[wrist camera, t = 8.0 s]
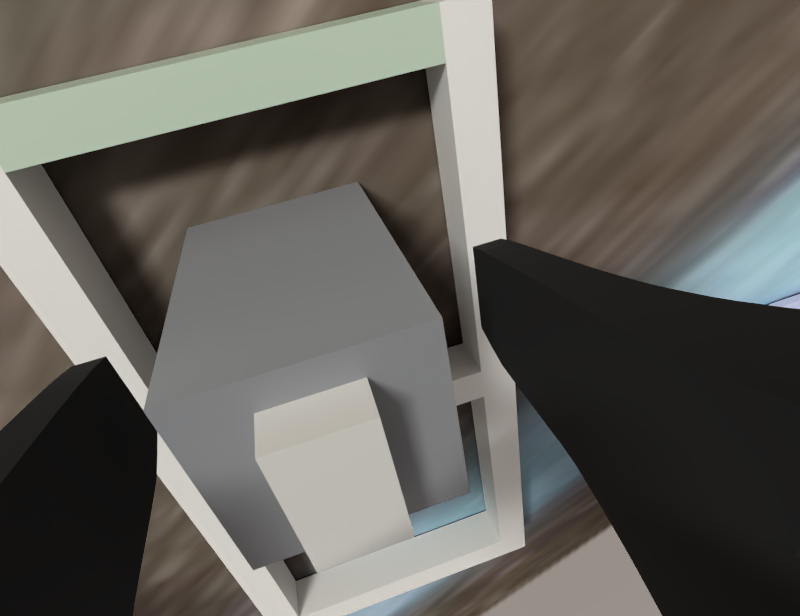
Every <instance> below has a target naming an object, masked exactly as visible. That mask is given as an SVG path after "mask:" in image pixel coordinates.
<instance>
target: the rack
mask: <svg viewBox="0 0 800 616" xmlns="http://www.w3.org/2000/svg"><path fill="white" fill-rule="evenodd" d="M425 68H426V76H427V83H428V90H429V98H430V105H431V112H432V120H433V127H434V134H435V142H436V149H437V156H438V164H439V171H440V178H441V186H442V193H443V200H444V208H445V215H446V222H447V230H448V237H449V244H450V252H451V259H452V266H453V274H454V281H455V288H456V296H457V303H458V310H459V318H460V325H461V332H462V340H463V343H462V344H459V345H456V346H452V347H449V348H447V350H448V356H449V363H450V369H451V375H452V382H453V388H454V394H455V400H456V406H457V405H460V404H463V403H466V402H469V401H471V406H472V413H473V420H474V428H475V435H476V442H477V450H478V457H479V464H480V472H481V479H482V486H483V494H484V501H485V508H486V511H484V512H481V513H478V514H476V515H473V516H470V517H468V518H465V519H462V520H459V521H457V522H454V523H451V524H449V525H446V526H443V527H441V528H438V529H435V530H432V531H430V532H427V533H424V534H422V535H419V536H416V537H414V538H411V539H408V540H406V541H403V542H400V543H397V544H395V545H392V546H389V547H387V548H384V549H381V550H378V551H376V552H373V553H370V554H368V555H365V556H362V557H360V558H357V559H354V560H351V561H349V562H346V563H343V564H341V565H338V566H335V567H332V568H330V569H327V570H324V571H322V572H319V573H316V574H314V575H311V576H308V577H305V578H303V579H300V580H297V581H296V580H295V579H294V577H293V576H292V574H291V572H290V571H289V569H288V567H287V566H286V564H285V562H284V561H283V560H281V561H278V562H275V563H273V564H270V565H267V566H264V567H262V568H259V569H256V570H253V569H252V568H251V566H250V565H249V564H248V562H247V561H246V559H245V558H244V556H243V555H242V553H241V552H240V551H239V549H238V548H237V546H236V545H235V543H234V542H233V540H232V539H231V537H230V536H229V535H228V533H227V532H226V530H225V529H224V527H223V526H222V524H221V523H220V522H219V520H218V519H217V517H216V516H215V514H214V513H213V511H212V510H211V509H210V507H209V506H208V504H207V503H206V501H205V500H204V498H203V497H202V496H201V494H200V493H199V491H198V490H197V488H196V487H195V485H194V484H193V483H192V481H191V480H190V478H189V477H188V475H187V474H186V472H185V471H184V470H183V468H182V467H181V465H180V464H179V462H178V461H177V459H176V458H175V457H174V455H173V454H172V452H171V451H170V449H169V448H168V446H167V445H166V443H165V442H164V441H163V439H162V438H161V436H160V435H159V433H158V432H157V475H158V476H159V478H160V479H161V480H162V482H163V483H164V484H165V486H166V487H167V488H168V490H169V491H170V492H171V494H172V495H173V496H174V498H175V499H176V500H177V502H178V503H179V504H180V506H181V507H182V508H183V510H184V511H185V512H186V514H187V515H188V516H189V518H190V519H191V520H192V522H193V523H194V524H195V526H196V527H197V528H198V530H199V531H200V532H201V534H202V535H203V536H204V538H205V539H206V540H207V542H208V543H209V544H210V546H211V547H212V548H213V550H214V551H215V552H216V554H217V555H218V556H219V558H220V559H221V560H222V562H223V563H224V564H225V566H226V567H227V568H228V570H229V571H230V572H231V574H232V575H233V576H234V578H235V579H236V580H237V582H238V583H239V584H240V586H241V587H242V588H243V590H244V591H245V592H246V594H247V595H248V596H249V598H250V599H251V600H252V602H253V603H254V604H255V606H256V607H257V608H258V610H259V611H260V612H261V614H262V615H263V616H344V615H347V614H350V613H352V612H355V611H358V610H360V609H363V608H365V607H368V606H371V605H373V604H376V603H378V602H381V601H384V600H386V599H389V598H391V597H394V596H397V595H399V594H402V593H404V592H407V591H410V590H412V589H415V588H417V587H420V586H423V585H425V584H428V583H430V582H433V581H436V580H438V579H441V578H444V577H446V576H449V575H451V574H454V573H457V572H459V571H462V570H464V569H467V568H470V567H472V566H475V565H477V564H480V563H483V562H485V561H488V560H490V559H493V558H496V557H498V556H501V555H503V554H506V553H509V552H511V551H514V550H516V549H519V548H522V547H524V546H525V537H524V521H523V504H522V488H521V471H520V455H519V438H518V422H517V405H516V389H515V382H514V380H513V379H512V378H511V376H510V375H509V374H508V372H507V371H506V370H505V368H504V367H503V365H502V364H501V362H500V360H499V359H498V357H497V355H496V353H495V352H494V350H493V348H492V346H491V345H490V343H489V341H488V339H487V337H486V335H485V333H484V331H483V330H482V328H481V320H480V310H479V301H478V292H477V282H476V273H475V264H474V254H473V247H474V246H477V245H481V244H484V243H488V242H491V241H494V240H498V239H505V240H506V224H505V208H504V192H503V175H502V159H501V142H500V126H499V109H498V93H497V76H496V60H495V43H494V27H493V11H492V0H421V1H417V2H413V3H408V4H404V5H400V6H395V7H391V8H387V9H382V10H378V11H374V12H369V13H365V14H361V15H356V16H352V17H348V18H343V19H339V20H335V21H330V22H326V23H322V24H317V25H313V26H309V27H304V28H300V29H296V30H291V31H287V32H283V33H278V34H274V35H270V36H265V37H261V38H257V39H252V40H248V41H244V42H239V43H235V44H231V45H226V46H222V47H218V48H213V49H209V50H205V51H200V52H196V53H192V54H187V55H183V56H179V57H174V58H170V59H166V60H161V61H157V62H153V63H148V64H144V65H140V66H135V67H131V68H127V69H122V70H118V71H114V72H109V73H105V74H101V75H96V76H92V77H88V78H83V79H79V80H75V81H70V82H66V83H62V84H57V85H53V86H49V87H44V88H40V89H36V90H31V91H27V92H23V93H18V94H14V95H10V96H5V97H1V98H0V266H1V267H2V268H3V270H4V271H5V272H6V274H7V275H8V276H9V278H10V279H11V280H12V282H13V283H14V284H15V286H16V287H17V288H18V290H19V291H20V292H21V294H22V295H23V296H24V298H25V299H26V300H27V302H28V303H29V304H30V306H31V307H32V308H33V310H34V311H35V312H36V314H37V315H38V316H39V318H40V319H41V320H42V322H43V323H44V324H45V326H46V327H47V328H48V330H49V331H50V332H51V334H52V335H53V336H54V338H55V339H56V340H57V342H58V343H59V344H60V346H61V347H62V348H63V350H64V351H65V352H66V354H67V355H68V356H69V358H70V359H71V360H72V362H73V363H74V364H75V365H78V364H82V363H85V362H88V361H92V360H95V359H99V358H102V357H105V356H106V357H107V359H108V360H109V362H110V363H111V364H112V366H113V367H114V369H115V370H116V372H117V373H118V375H119V376H120V377H121V379H122V380H123V382H124V383H125V385H126V386H127V388H128V389H129V390H130V392H131V393H132V395H133V396H134V398H135V399H136V401H137V402H138V403H139V405H140V406H141V408H142V409H143V410H144V406H145V402H146V398H147V394H148V389H149V385H150V381H151V377H152V373H153V369H154V365H155V360H156V356H157V353H156V351H155V350H154V348H153V346H152V345H151V343H150V341H149V340H148V338H147V337H146V335H145V333H144V332H143V330H142V328H141V327H140V325H139V323H138V322H137V320H136V319H135V317H134V315H133V314H132V312H131V310H130V309H129V307H128V305H127V304H126V302H125V301H124V299H123V297H122V296H121V294H120V292H119V291H118V289H117V287H116V286H115V284H114V283H113V281H112V279H111V278H110V276H109V274H108V273H107V271H106V269H105V268H104V266H103V265H102V263H101V261H100V260H99V258H98V256H97V255H96V253H95V251H94V250H93V248H92V247H91V245H90V243H89V242H88V240H87V238H86V237H85V235H84V233H83V232H82V230H81V229H80V227H79V225H78V224H77V222H76V220H75V219H74V217H73V215H72V214H71V212H70V211H69V209H68V207H67V206H66V204H65V202H64V201H63V199H62V197H61V196H60V194H59V192H58V191H57V189H56V188H55V186H54V184H53V183H52V181H51V179H50V178H49V176H48V174H47V173H46V171H45V170H44V168H43V166H42V165H41V164H43V163H47V162H51V161H55V160H59V159H63V158H67V157H71V156H75V155H79V154H83V153H87V152H91V151H95V150H99V149H103V148H107V147H111V146H115V145H119V144H123V143H127V142H131V141H135V140H139V139H143V138H147V137H151V136H155V135H159V134H163V133H167V132H171V131H175V130H179V129H183V128H187V127H191V126H196V125H200V124H204V123H208V122H212V121H216V120H220V119H224V118H228V117H232V116H236V115H240V114H244V113H248V112H252V111H256V110H260V109H264V108H268V107H272V106H276V105H280V104H284V103H288V102H292V101H296V100H300V99H304V98H308V97H312V96H316V95H320V94H324V93H328V92H332V91H336V90H340V89H344V88H348V87H352V86H356V85H360V84H364V83H368V82H372V81H376V80H380V79H384V78H388V77H392V76H396V75H400V74H404V73H408V72H413V71H417V70H421V69H425Z"/></svg>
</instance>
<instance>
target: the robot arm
mask: <svg viewBox="0 0 800 616" xmlns="http://www.w3.org/2000/svg"><path fill="white" fill-rule="evenodd" d="M473 254H474V264H475V273H476V282H477V292H478V301H479V310H480V320H481V328H482V330H483V331H484V333H485V335H486V337H487V339H488V341H489V343H490V345H491V346H492V348H493V350H494V352H495V353H496V355H497V357H498V359H499V360H500V362H501V364H502V365H503V367H504V368H505V370H506V371H507V372H508V374H509V375H510V376H511V378H512V379H513V380H514V382H515V383H516V385H517V386H518V387H519V389H520V390H521V391H522V393H523V394H524V395H525V397H526V398H527V399H528V401H529V402H530V403H531V404H532V406H533V407H534V408H535V410H536V411H537V412H538V414H539V415H540V416H541V418H542V419H543V420H544V422H545V423H546V424H547V426H548V427H549V428H550V430H551V431H552V432H553V434H554V435H555V436H556V437H557V439H558V440H559V441H560V443H561V444H562V445H563V447H564V448H565V450H566V451H567V453H568V454H569V456H570V457H571V458H572V460H573V461H574V463H575V464H576V466H577V467H578V469H579V471H580V472H581V474H582V476H583V477H584V479H585V481H586V482H587V484H588V486H589V487H590V489H591V491H592V492H593V494H594V496H595V497H596V499H597V500H598V502H599V504H600V505H601V507H602V509H603V510H604V512H605V514H606V516H607V517H608V519H609V521H610V523H611V524H612V526H613V528H614V529H615V531H616V533H617V535H618V536H619V538H620V540H621V541H622V543H623V545H624V547H625V549H626V550H627V552H628V554H629V555H630V557H631V559H632V561H633V563H634V564H635V566H636V568H637V570H638V572H639V574H640V575H641V577H642V579H643V581H644V583H645V585H646V586H647V588H648V590H649V592H650V594H651V595H652V597H653V599H654V601H655V603H656V605H657V606H658V608H659V610H660V612H661V614H662V616H800V294H798V295H795V296H792V297H789V298H786V299H783V300H780V301H777V302H774V303H771V304H769V305H763V304H755V303H747V302H740V301H733V300H727V299H721V298H715V297H709V296H704V295H699V294H694V293H689V292H684V291H679V290H674V289H669V288H665V287H661V286H656V285H652V284H648V283H644V282H640V281H637V280H633V279H629V278H626V277H622V276H618V275H615V274H611V273H608V272H604V271H601V270H598V269H595V268H591V267H588V266H585V265H582V264H579V263H576V262H573V261H570V260H567V259H564V258H561V257H558V256H555V255H552V254H549V253H546V252H543V251H540V250H538V249H535V248H532V247H529V246H526V245H523V244H520V243H516V242H513V241H509V240H505V239H498V240H494V241H491V242H488V243H484V244H481V245H477V246H474V247H473ZM156 477H157V430H156V429H155V428H154V426H153V425H152V423H151V422H150V420H149V419H148V417H147V416H146V415H145V413H144V412H143V409H142V408H141V406H140V405H139V403H138V402H137V401H136V399H135V398H134V396H133V395H132V393H131V392H130V390H129V389H128V388H127V386H126V385H125V383H124V382H123V380H122V379H121V377H120V376H119V375H118V373H117V372H116V370H115V369H114V367H113V366H112V364H111V363H110V362H109V360H108V359H107V357H106V356H105V357H102V358H99V359H95V360H92V361H88V362H85V363H82V364H78V365H75V366H72V367H70V368H69V369H68V370H67V371H65V372H64V373H63V374H61V375H60V376H59V377H58V378H57V379H55V380H54V381H53V382H52V383H51V384H50V385H49V386H47V387H46V388H45V389H44V390H43V391H42V392H41V393H40V394H39V395H38V396H37V397H36V398H34V399H33V400H32V401H31V402H30V403H29V404H28V405H27V406H26V407H25V408H24V409H23V410H22V411H21V412H20V413H19V414H18V415H17V416H16V417H14V418H13V419H12V420H11V421H10V422H9V423H8V424H7V425H6V426H5V427H4V428H3V429H2V430H1V431H0V616H133V610H134V603H135V596H136V591H137V585H138V580H139V575H140V569H141V564H142V558H143V553H144V547H145V542H146V537H147V531H148V526H149V520H150V515H151V509H152V503H153V497H154V491H155V485H156Z"/></svg>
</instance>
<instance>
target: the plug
mask: <svg viewBox="0 0 800 616" xmlns="http://www.w3.org/2000/svg"><path fill="white" fill-rule="evenodd" d="M143 412H144V413H145V415H146V416H147V417H148V419H149V420H150V422H151V423H152V425H153V426H154V428H155V429H156V430H157V432H158V433H159V435H160V436H161V438H162V439H163V441H164V442H165V443H166V445H167V446H168V448H169V449H170V451H171V452H172V454H173V455H174V457H175V458H176V459H177V461H178V462H179V464H180V465H181V467H182V468H183V470H184V471H185V472H186V474H187V475H188V477H189V478H190V480H191V481H192V483H193V484H194V485H195V487H196V488H197V490H198V491H199V493H200V494H201V496H202V497H203V498H204V500H205V501H206V503H207V504H208V506H209V507H210V509H211V510H212V511H213V513H214V514H215V516H216V517H217V519H218V520H219V522H220V523H221V524H222V526H223V527H224V529H225V530H226V532H227V533H228V535H229V536H230V537H231V539H232V540H233V542H234V543H235V545H236V546H237V548H238V549H239V551H240V552H241V553H242V555H243V556H244V558H245V559H246V561H247V562H248V564H249V565H250V566H251V568H252V569H253V570H256V569H259V568H262V567H264V566H267V565H270V564H273V563H275V562H278V561H281V560H284V559H286V558H289V557H292V556H295V555H298V554H300V553H303V552H306V553H307V555H308V557H309V559H310V561H311V562H312V564H313V566H314V568H315V570H316V572H317V573H318V572H321V571H324V570H327V569H329V568H332V567H335V566H337V565H340V564H343V563H346V562H348V561H351V560H354V559H357V558H359V557H362V556H365V555H367V554H370V553H373V552H376V551H378V550H381V549H384V548H387V547H389V546H392V545H395V544H397V543H400V542H403V541H406V540H408V539H411V538H414V537H415V535H414V532H413V528H412V525H411V521H410V518H409V515H408V514H411V513H414V512H417V511H420V510H422V509H425V508H428V507H431V506H433V505H436V504H439V503H442V502H445V501H447V500H450V499H453V498H456V497H458V496H461V495H464V494H467V493H469V492H470V489H469V483H468V476H467V470H466V464H465V457H464V451H463V445H462V438H461V432H460V426H459V419H458V413H457V407H456V400H455V394H454V388H453V382H452V375H451V369H450V363H449V356H448V350H447V344H446V337H445V331H444V325H443V318H442V316H441V315H440V313H439V312H438V310H437V308H436V307H435V305H434V303H433V302H432V300H431V299H430V297H429V295H428V294H427V292H426V291H425V289H424V287H423V286H422V284H421V283H420V281H419V279H418V278H417V276H416V275H415V273H414V271H413V270H412V268H411V267H410V265H409V263H408V262H407V260H406V258H405V257H404V255H403V254H402V252H401V250H400V249H399V247H398V246H397V244H396V242H395V241H394V239H393V238H392V236H391V234H390V233H389V231H388V230H387V228H386V226H385V225H384V223H383V222H382V220H381V218H380V217H379V215H378V213H377V212H376V210H375V209H374V207H373V205H372V204H371V202H370V201H369V199H368V197H367V196H366V194H365V193H364V191H363V189H362V188H361V186H360V185H359V183H358V182H355V183H351V184H348V185H344V186H340V187H337V188H333V189H329V190H326V191H322V192H318V193H315V194H311V195H307V196H304V197H300V198H296V199H293V200H289V201H285V202H282V203H278V204H274V205H270V206H267V207H263V208H259V209H256V210H252V211H248V212H245V213H241V214H237V215H234V216H230V217H226V218H223V219H219V220H215V221H212V222H208V223H204V224H200V225H197V226H193V227H189V228H187V232H186V237H185V241H184V245H183V249H182V253H181V257H180V261H179V265H178V270H177V274H176V278H175V282H174V286H173V290H172V294H171V298H170V303H169V307H168V311H167V315H166V319H165V323H164V327H163V332H162V336H161V340H160V344H159V348H158V352H157V356H156V360H155V365H154V369H153V373H152V377H151V381H150V385H149V389H148V394H147V398H146V402H145V406H144V410H143Z"/></svg>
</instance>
